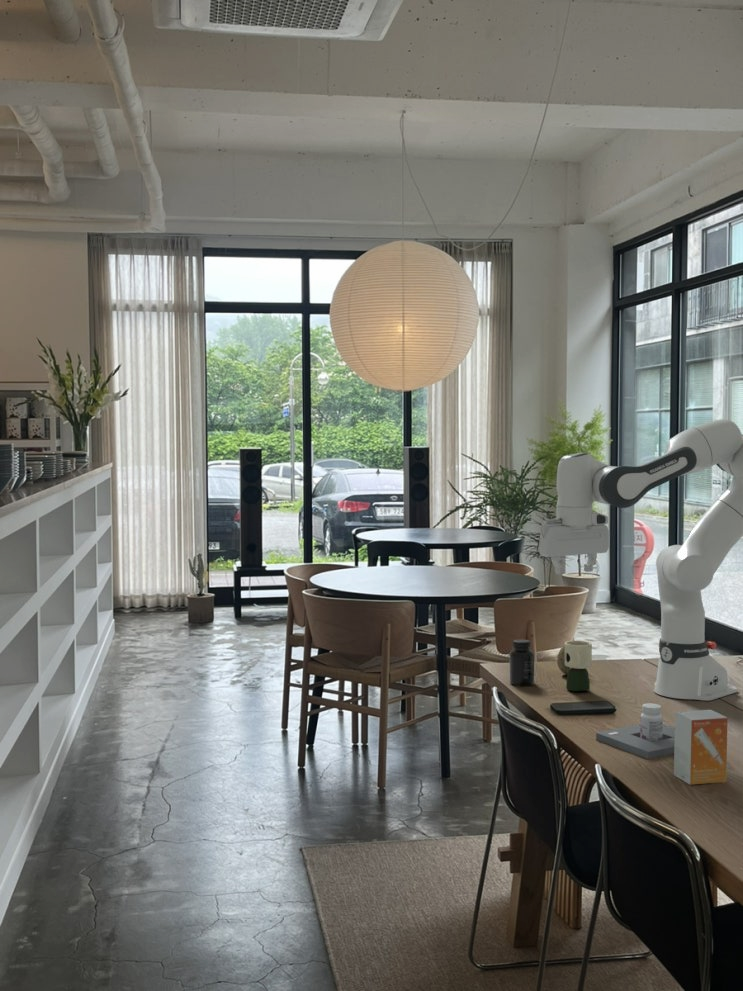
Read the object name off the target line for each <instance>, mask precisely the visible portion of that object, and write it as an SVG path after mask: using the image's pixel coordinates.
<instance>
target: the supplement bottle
mask: <svg viewBox="0 0 743 991" xmlns="http://www.w3.org/2000/svg"><path fill="white" fill-rule="evenodd" d="M512 648H513V649H511V651H510V652H509V682H510V684H511V685H512V684H513V686H516V685H520V686H519V687H529V686H528V685H530V686H533V685H534V684H535V680H536V679H535V653H534V651H533V650H531V649H530V648H531V640H528V639H514V640H512Z"/></svg>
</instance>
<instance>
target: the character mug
mask: <svg viewBox="0 0 743 991" xmlns="http://www.w3.org/2000/svg"><path fill="white" fill-rule="evenodd" d="M564 644H565V666H567V667H570V669H569V671H568V675H567V678H566V687H565V688H566V689H567V690H568V691H570V692H571V691H572V692H577V693H580V691H590V690H591V687H590V679H589V678H590V677H589V671H588V669H589V668H591V667H592V664H593V662H592V660H593V659H592V658H593V654H592V653H593V644H592V642H589V641H586V640H568V641H565V642H564Z"/></svg>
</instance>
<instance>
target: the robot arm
mask: <svg viewBox="0 0 743 991" xmlns="http://www.w3.org/2000/svg"><path fill="white" fill-rule="evenodd" d="M714 466H716V467H718V468H719V469H720V470H722V471H723V472H727V474H729V475H730V476H732V480H731V482H730V485H729V486H728V488H727V489H726V490H724V492H723V493H721V495H719V496H718V498H716V500H715V501H714V502H713V503H712V504H711V505H710V507H708V509H707V510H706V511H705V512H704V513H702V515H701V516H700V518H698V520H697V521H696V523H695V525H694V528H693V529H692V531H691V532H690V533H689V536H688V537H687V539H686V540H685V541H684V542H683V544H673V545H670V546H667V547H665V548H664V549H662V550H661V551H660V552H659V553H658V555H657V556H656V561H655V566H656V572H657V573H656V575H657V587H658V594H659V595H658V596H659V601H660V611H661V612H660V614H661V616H660V638H659V642H658V651H659V652H658V653H659V655H660V657H659V658H658V663H657V664H658V666H657V671H656V672H657V673H656V681H655V682H654V685H653V686H654V689H653V692H654V693H656V694H658V695H660V696H663V697H667V698H672V699H678V700H698V701H713V700H716V699H719V698H723V697H726V696H729V695H732V694H735V693H738V688H737V686H734V685H732V684H729V677H728V671H727V669H726V667H724V666H723V664H721V663H720V662H718V660H716V659H715V658H713V656H711V655H710V654H711V653H710V650H712V651H714V650H717V649H716V648H717V645H718V644H717V643H716V642H715V641H709V640H708V641H707V642H706V640H705V631H706V630H705V628H706V627H705V626H706V622H705V621H706V611H705V608H704V605H703V604H704V603H703V598H702V592H701V591H703V590H706V588H707V587H709V585H710V584H711V583H712V581H713V578H714V575H715V574H716V572H717V571H718V569H719V568H720V566H721V564H722V563H723V561H724V560H725V558H726V557H727V555H728V554H729V552H730V551H731V549H732V548H734V546H735V545H736V544H737V543H738V542H739V540H740V539H741V538H742V537H743V433H742V431H741V429H740V428H739V426H738V425H737V424H736V423H735V422H734V421H733V420H730V419H728V418H727V419H725V418H723V419H718V420H717V419H716V420H712V421H708V422H704V423H701V424H698V425H695V426H692V427H690V428H687V429H685V430H683V431H681V432H679V433H677V434H676V435H674V436H673V437H671V438H669V439H668V441H667V442H666V445H665V452H664V454H661V456H659V457H656V458H654V459H652V460H649V461H647V462H645V463H643V464H641V465H637V466H631V465H628V466H627V465H624V466H623V465H621V466H616V465H615V466H613V465H610V464H607V463H605V462H602V461H601V460H598V459H596V458H595V457H593V456H592V455H591V454H590V453H589V452H578V453H570V454H566V455H563V456H562V457H561V458H560V459H559V462H558V464H557V470H556V471H557V472H556V492H557V502H556V514H555V515H556V518H552V519H550V518H549V519H545V520H544V522H542V524H541V526H540V536H539V543H538V553H539V555H540V556H541V557H546V558H550V561H551V564H552V565H553V567H554V574H555V575H563V574H564V573H565V571H564V570H565V567H564V566H562V565H561V563H560V561H562V559H561V558H562V557H566V556H567V557H568V556H581V555H586V557H587V558H588V559H587V562H586V563H585V564H583V571H584V572H586V573H588V572H589V573H591V572H593V571H594V564H595V562H596V560H597V557H598V556H597V555H598V554H605V553H608V551H609V548H610V531H609V527H608V526H607V525H608V523H609V517H608V515H606V514H603V513H599V512H597V511H594V510H593V503H594V502H597V503H599V504H604V505H609V506H613V507H615V508H618V509H619V508H620V509H626V508H630V507H632V506H634V505H636V504H637V503H638V502H640V500H642V499H643V497H644V496H645V495H646V494H647V493H648V492H650V491H651V490H653V489H655V488H656V487H659V486H662V485H663V484H665V483H667V482H670V481H672V480H674V479H676V478H678V477H682V476H685V475H690V474H695V473H699V472H701V471H704V470H706V469H709V468H711V467H714Z"/></svg>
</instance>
